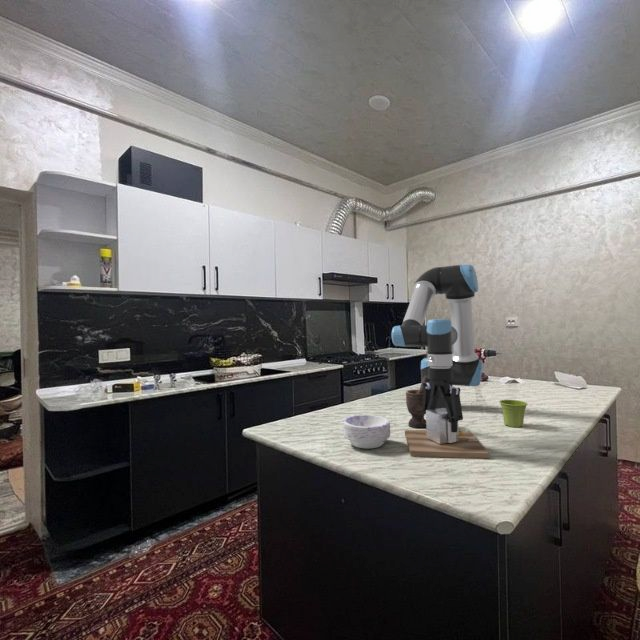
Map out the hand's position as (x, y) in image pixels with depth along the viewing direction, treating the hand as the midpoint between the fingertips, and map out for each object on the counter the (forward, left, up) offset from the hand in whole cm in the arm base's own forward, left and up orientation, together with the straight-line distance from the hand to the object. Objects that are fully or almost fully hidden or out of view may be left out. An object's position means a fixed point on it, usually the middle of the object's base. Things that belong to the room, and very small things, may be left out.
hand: (442, 438), depth 118 cm
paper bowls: (+1, -24, -2) cm, 24 cm away
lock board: (0, 0, -2) cm, 2 cm away
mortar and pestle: (-21, -4, -2) cm, 22 cm away
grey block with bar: (-1, +2, 0) cm, 2 cm away
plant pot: (-25, +30, -2) cm, 39 cm away
